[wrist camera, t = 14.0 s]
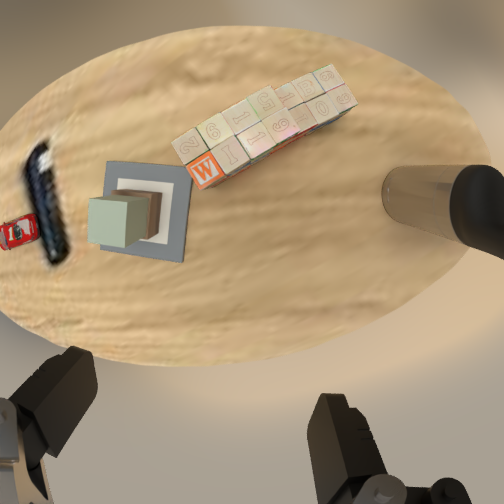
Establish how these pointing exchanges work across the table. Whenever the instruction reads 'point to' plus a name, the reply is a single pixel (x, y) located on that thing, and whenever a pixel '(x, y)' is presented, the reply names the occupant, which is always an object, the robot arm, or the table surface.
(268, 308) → the table surface
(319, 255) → the table surface
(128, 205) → the sage block
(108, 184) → the board
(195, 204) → the table surface
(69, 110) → the table surface
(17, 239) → the race car
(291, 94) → the stack of blocks
